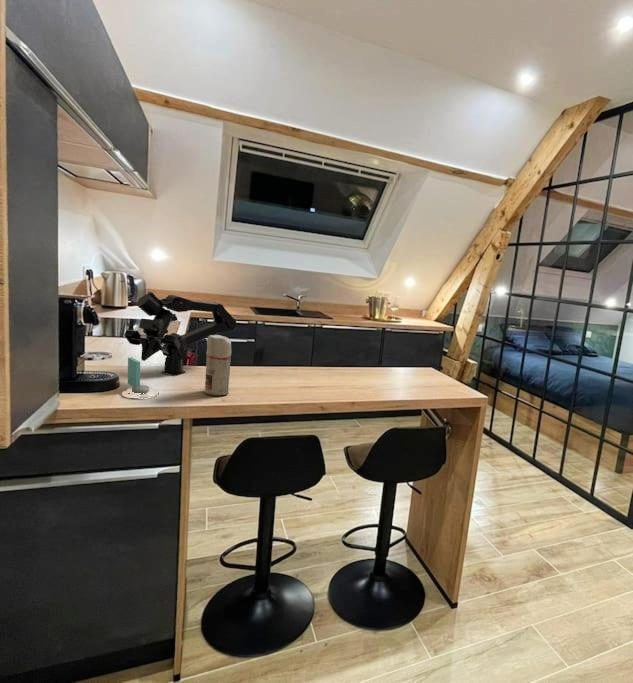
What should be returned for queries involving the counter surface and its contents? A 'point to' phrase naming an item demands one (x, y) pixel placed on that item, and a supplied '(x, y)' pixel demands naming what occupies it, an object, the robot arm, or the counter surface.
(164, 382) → the counter surface
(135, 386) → the teal panel
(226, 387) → the spray can
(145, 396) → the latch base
